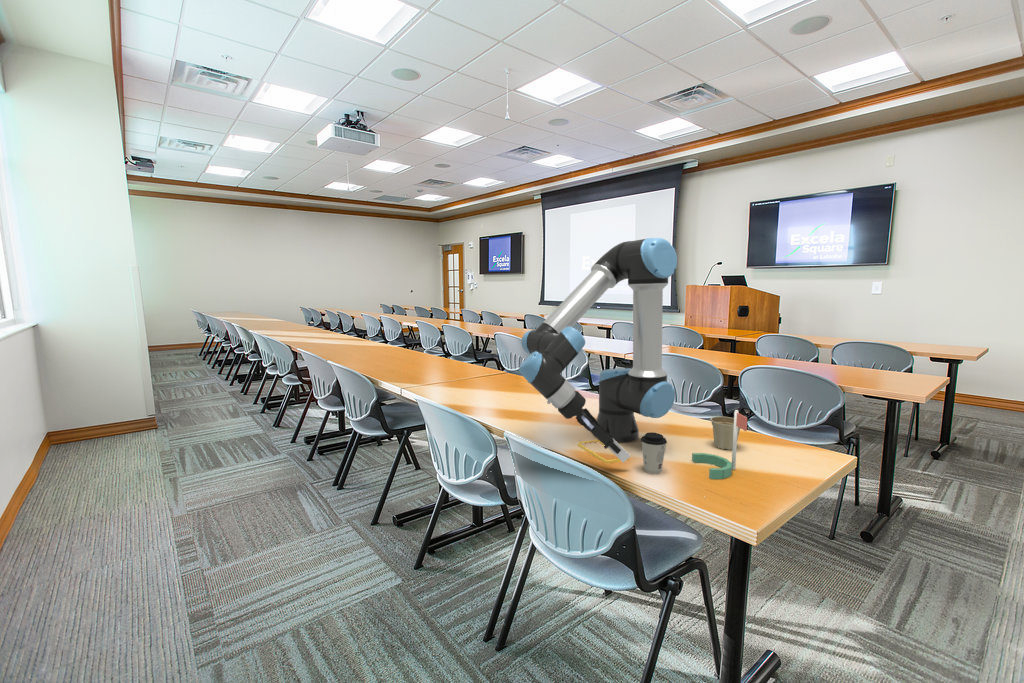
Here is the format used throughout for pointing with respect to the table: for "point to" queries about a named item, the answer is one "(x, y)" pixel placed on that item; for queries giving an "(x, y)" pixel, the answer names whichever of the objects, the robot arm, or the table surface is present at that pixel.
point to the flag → (738, 422)
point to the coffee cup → (653, 452)
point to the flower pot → (723, 432)
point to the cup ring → (715, 460)
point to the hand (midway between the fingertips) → (626, 458)
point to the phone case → (595, 453)
